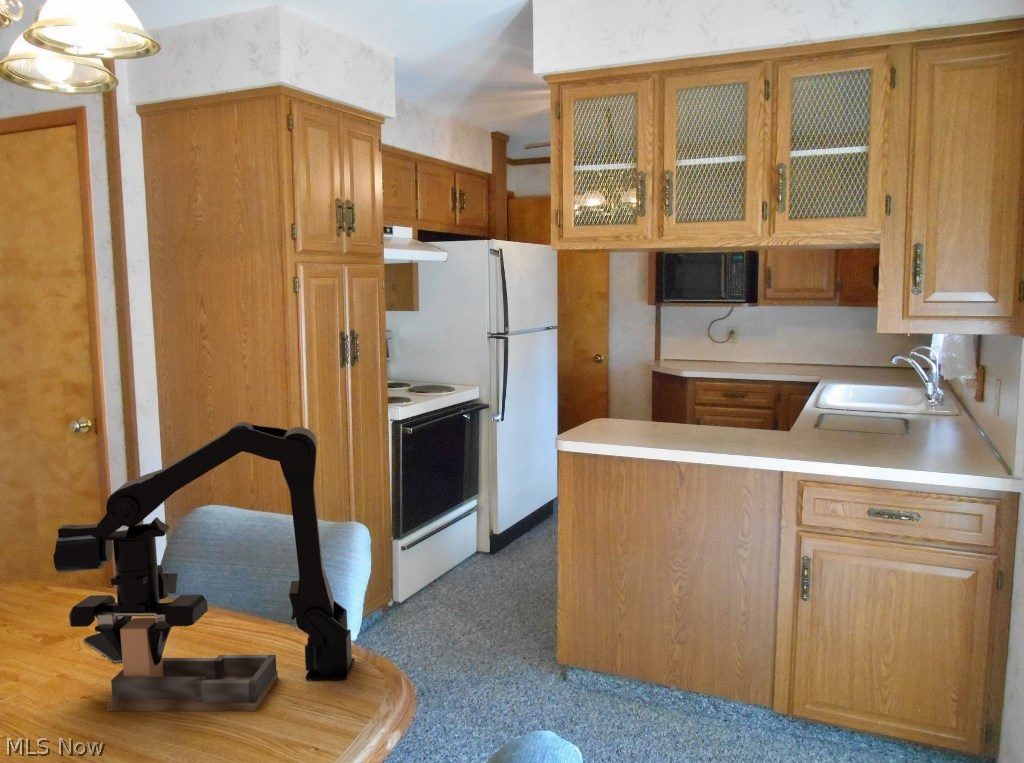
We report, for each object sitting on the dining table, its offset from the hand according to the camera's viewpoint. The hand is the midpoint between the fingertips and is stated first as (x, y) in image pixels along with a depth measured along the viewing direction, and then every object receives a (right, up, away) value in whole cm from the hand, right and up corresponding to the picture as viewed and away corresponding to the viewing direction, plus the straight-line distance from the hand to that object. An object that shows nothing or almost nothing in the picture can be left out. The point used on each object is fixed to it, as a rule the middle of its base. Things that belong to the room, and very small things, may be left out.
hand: (143, 663), depth 116 cm
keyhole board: (+8, -5, 0) cm, 9 cm away
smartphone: (-13, -4, +18) cm, 22 cm away
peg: (0, -4, 0) cm, 4 cm away
